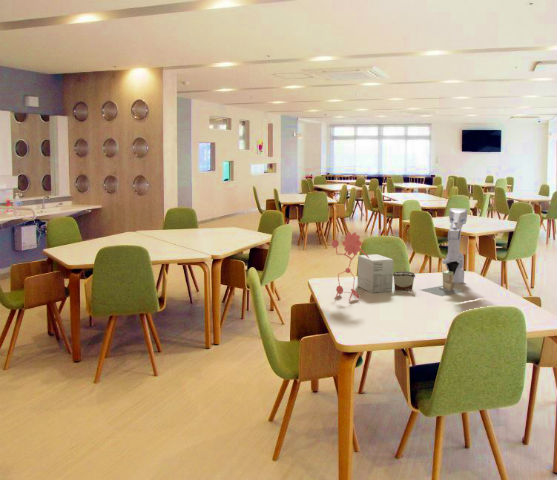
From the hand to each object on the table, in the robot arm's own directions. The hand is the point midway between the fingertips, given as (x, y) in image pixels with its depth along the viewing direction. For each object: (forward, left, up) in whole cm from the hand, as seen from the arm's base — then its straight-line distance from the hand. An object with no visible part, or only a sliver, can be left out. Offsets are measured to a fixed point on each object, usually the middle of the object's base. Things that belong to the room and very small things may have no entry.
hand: (451, 275), depth 328 cm
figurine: (+56, -19, -9) cm, 60 cm away
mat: (+7, 0, -9) cm, 11 cm away
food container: (+21, -16, -9) cm, 28 cm away
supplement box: (+33, -26, -9) cm, 43 cm away
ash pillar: (+2, 0, -8) cm, 8 cm away
